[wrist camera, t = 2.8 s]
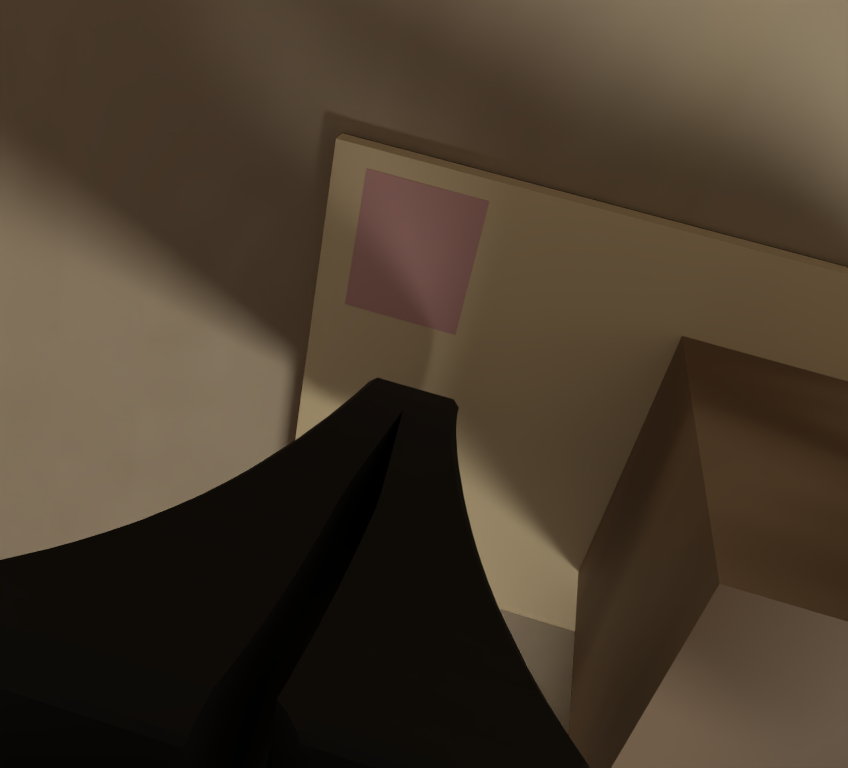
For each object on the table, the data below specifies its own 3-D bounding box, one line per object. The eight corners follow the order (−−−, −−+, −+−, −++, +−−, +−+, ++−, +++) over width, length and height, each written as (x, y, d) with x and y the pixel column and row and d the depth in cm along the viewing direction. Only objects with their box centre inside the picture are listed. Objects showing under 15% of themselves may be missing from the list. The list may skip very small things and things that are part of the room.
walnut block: (578, 571, 14) (562, 851, 10) (682, 335, 11) (720, 584, 7) (855, 654, 14) (958, 978, 10) (1029, 431, 11) (1281, 749, 7)
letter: (286, 532, 16) (281, 542, 15) (342, 133, 11) (336, 138, 11) (891, 715, 15) (895, 729, 15) (1204, 361, 10) (1219, 373, 10)
